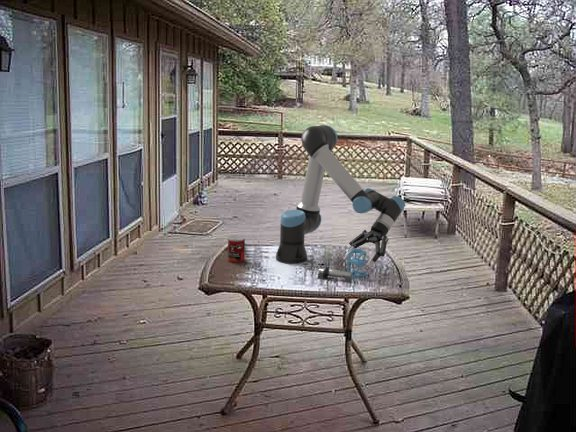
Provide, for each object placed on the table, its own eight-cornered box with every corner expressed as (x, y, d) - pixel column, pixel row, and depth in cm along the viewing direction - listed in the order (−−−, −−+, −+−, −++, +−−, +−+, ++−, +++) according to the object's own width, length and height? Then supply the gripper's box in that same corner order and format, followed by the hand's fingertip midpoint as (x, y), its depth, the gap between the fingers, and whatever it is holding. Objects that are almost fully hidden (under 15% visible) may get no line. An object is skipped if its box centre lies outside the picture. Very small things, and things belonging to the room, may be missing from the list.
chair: (343, 276, 277) (344, 250, 275) (353, 272, 284) (355, 246, 281) (358, 280, 272) (359, 253, 270) (368, 275, 279) (369, 250, 276)
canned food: (224, 261, 293) (225, 238, 291) (232, 257, 300) (233, 235, 298) (239, 263, 290) (240, 240, 288) (247, 259, 297) (247, 237, 295)
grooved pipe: (317, 278, 272) (318, 267, 271) (320, 275, 277) (320, 265, 276) (350, 282, 268) (350, 271, 267) (351, 279, 273) (352, 268, 272)
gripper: (406, 236, 275) (381, 274, 269) (365, 225, 294) (341, 261, 288) (399, 226, 271) (374, 264, 264) (358, 215, 289) (333, 251, 283)
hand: (357, 262), depth 276 cm, fingers open, 13 cm apart
